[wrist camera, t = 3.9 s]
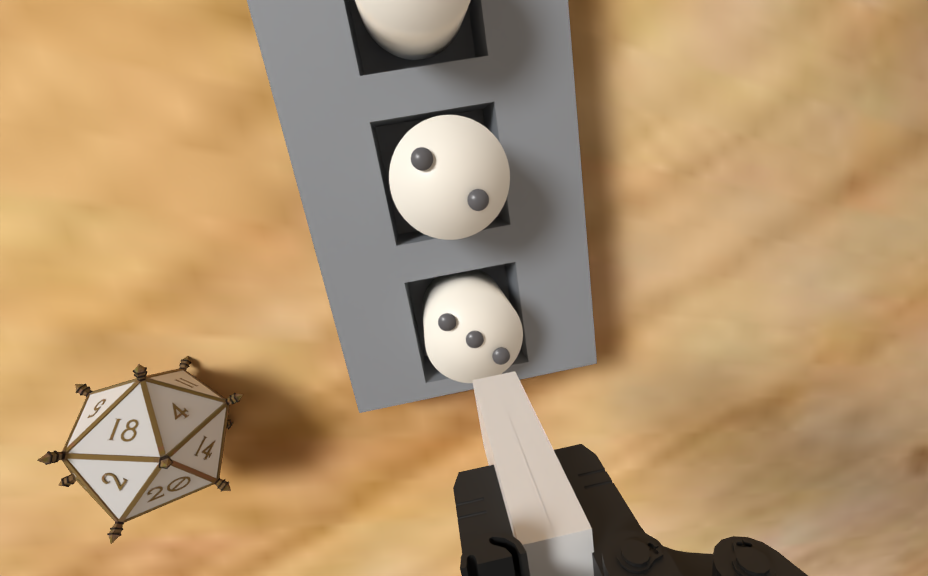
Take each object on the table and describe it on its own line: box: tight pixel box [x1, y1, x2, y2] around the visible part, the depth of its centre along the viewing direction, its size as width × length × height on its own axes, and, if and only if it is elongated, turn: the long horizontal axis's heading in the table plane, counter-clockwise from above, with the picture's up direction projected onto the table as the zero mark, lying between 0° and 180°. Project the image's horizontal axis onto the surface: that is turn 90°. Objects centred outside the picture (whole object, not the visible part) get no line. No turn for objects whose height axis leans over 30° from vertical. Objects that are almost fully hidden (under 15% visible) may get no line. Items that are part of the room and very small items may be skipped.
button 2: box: [389, 115, 510, 240], centre depth 20 cm, size 5×5×5 cm
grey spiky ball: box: [37, 356, 243, 544], centre depth 24 cm, size 9×8×10 cm
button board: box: [247, 0, 597, 413], centre depth 24 cm, size 24×14×4 cm, turn 9°
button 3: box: [422, 269, 523, 383], centre depth 24 cm, size 5×5×5 cm
